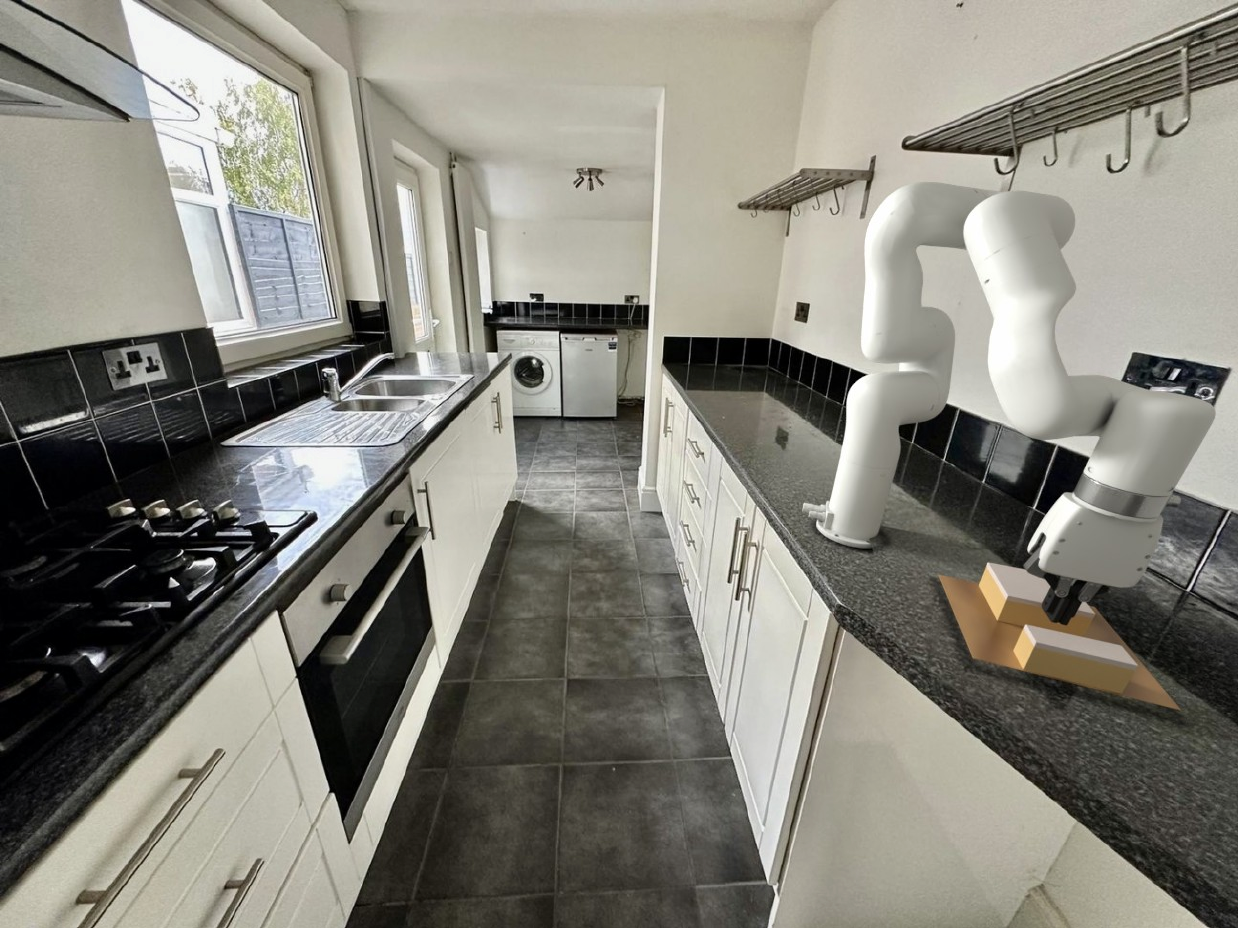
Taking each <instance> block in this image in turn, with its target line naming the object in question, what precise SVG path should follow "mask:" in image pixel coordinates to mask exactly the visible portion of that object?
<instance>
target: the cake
mask: <svg viewBox="0 0 1238 928" xmlns="http://www.w3.org/2000/svg"><path fill="white" fill-rule="evenodd" d="M979 583H980V584H979V587H980V589H981V591H982V593H983V595H984V597H985V598H986V600H987V602H988V604H989V606H990V608H991V610H992V612H993V614H994V615H995V617H996V619H997V621H1001V622H1005V623H1010V624H1014V625H1019V626H1023V627H1024V626H1025V624H1026V625H1031V626H1035V627H1040V628H1044V629H1049V630H1053V631H1058V632H1062V633H1067V634H1071V635H1076V636H1080V637H1084V635H1085V633H1086V631H1087V629H1088V627H1089V625H1090V624H1091V622H1092V620H1093V618H1094V616H1095V613H1094V612H1093V610H1092V609H1091V608H1090V607H1089V606H1090V605H1089V604H1088V602H1082V604H1081V605H1080V607H1079V609H1078V611H1077V613H1076V615H1075V616H1074V617H1073V618H1071V619H1070V621H1069V623H1068V625H1062V624H1060V623H1053V622H1051V621H1050V620H1049V618H1048V617H1047V615H1046V614H1045V612H1044V611H1043V609H1042V602H1043V600H1044V598H1045V596H1046V594H1047V592H1048V590H1049V588H1050V585H1049V584H1048V583H1047V581H1046V580H1045V579H1042V578H1039V577H1036V576H1034V575H1032V574H1029V573H1028V572H1027V571H1026V569H1025V568H1021V567H1013V566H1010V565H1004V564H1000V563H999V564H998V563H994V562H987V563H986V566H985V569H984V570H983V574H982V576H981V579H980V581H979Z"/></svg>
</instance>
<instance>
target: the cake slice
mask: <svg viewBox="0 0 1238 928" xmlns="http://www.w3.org/2000/svg"><path fill="white" fill-rule="evenodd" d="M1013 651H1014V653H1015V655H1016V657H1017V659H1018V661H1019V662H1020V664H1021V666H1022V668H1023V669H1024V670H1027V671H1031V672H1036V673H1040V674H1044V675H1048V676H1052V677H1056V678H1060V679H1064V680H1068V681H1072V682H1076V683H1080V684H1084V685H1088V686H1092V687H1096V688H1100V689H1104V690H1108V691H1112V692H1116V693H1120V694H1122V693H1123V691H1124V689H1125V688H1126V686H1127V684H1128V683H1129V681H1130V679H1131V677H1132V676H1133V674H1134V672H1135V670H1136V669H1137V667H1138V665H1137V664H1136V662H1135V661H1134V660H1133V659H1132V658H1131V656H1130V655H1129V654H1128V653H1127V652H1126V650H1125V649H1124V648H1123V647H1122V646H1120V645H1116V644H1112V643H1107V642H1103V641H1098V640H1094V639H1089V638H1085V637H1080V636H1076V635H1071V634H1067V633H1062V632H1058V631H1053V630H1049V629H1044V628H1040V627H1035V626H1031V625H1026V624H1025V626H1024V628H1023V630H1022V633H1021V635H1020V637H1019V639H1018V641H1017V644H1016V646H1015V648H1014V650H1013Z"/></svg>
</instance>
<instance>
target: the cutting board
mask: <svg viewBox="0 0 1238 928" xmlns="http://www.w3.org/2000/svg"><path fill="white" fill-rule="evenodd" d="M938 578H939V580H940V583H941V585H942V588H943V589H944V592H945V595H946V597H947V599H948V601H949V602H948V603H949V605H950V606H951V609H952V611H953V614H954V617H955V619H956V621H957V623H958V626H959V628H960V631H961V633H962V635H963V638H964V640H965V642H966V645H967V647H968V649H969V652H970V654H971V655H970V656H971V657H972V659H973V660H979V661H982V662H986V663H990V664H994V665H998V666H1002V667H1006V668H1009V669H1014V670H1019V671H1022V672H1025V673H1030V674H1034V675H1038V676H1043V677H1046V678H1051V679H1054V680H1058V681H1062V682H1065V683H1069V684H1074V685H1078V686H1082V687H1085V688H1090V689H1094V690H1097V691H1102V692H1106V693H1109V694H1114V695H1117V696H1122V697H1126V698H1130V699H1134V700H1138V701H1142V702H1145V703H1149V704H1153V705H1158V706H1162V707H1166V708H1168V709H1169V708H1170V709H1173V710H1177V711H1178V710H1179V711H1182V709H1181V708H1180V707H1179V706H1178V704H1177V703H1176V702H1175V700H1173V698H1172V697H1171V696H1170V695H1169V693H1168V692H1167V691H1166V690H1165V688H1163V686H1162V685H1161V683H1159V682H1158V680H1157V679H1156V678H1155V677H1154V676H1153V675H1152V674H1151V673H1152V672H1150V671H1149V670H1148V668H1147V667H1146V666H1145V665H1144V664H1143V662H1142V661H1141V660H1140V659H1139V658H1138V657H1137V655H1136V654H1135V653H1134V652H1133V651H1132V649H1131V648H1130V646H1128V645H1127V644H1126V642H1125V641H1124V640H1123V639H1122V638H1121V636H1120V635H1119V634H1118V633H1117V632H1116V631H1115V629H1114V628H1113V627H1112V626H1111V625H1110V624H1109V623H1108V621H1107V620H1106V619H1105V618H1104V617H1103V616H1102V614H1101V612H1099V610H1098V609H1097V608H1096V607H1095V606H1091V605H1088V606H1089V607H1090V608H1091V609H1092V610H1093V612H1094V613H1095V616H1094V618H1093V620H1092V622H1091V624H1090V625H1089V627H1088V629H1087V631H1086V633H1085V635H1084V637H1085V638H1089V639H1094V640H1098V641H1103V642H1107V643H1112V644H1116V645H1120V646H1122V647H1123V648H1124V649H1125V650H1126V652H1127V653H1128V654H1129V655H1130V656H1131V658H1132V659H1133V660H1134V661H1135V662H1136V664H1137V665H1138V667H1137V669H1136V670H1135V672H1134V674H1133V676H1132V677H1131V679H1130V681H1129V683H1128V684H1127V686H1126V688H1125V689H1124V691H1123V693H1122V694H1120V693H1116V692H1112V691H1108V690H1104V689H1100V688H1096V687H1092V686H1088V685H1084V684H1080V683H1076V682H1072V681H1068V680H1064V679H1060V678H1056V677H1052V676H1048V675H1044V674H1040V673H1036V672H1031V671H1027V670H1024V669H1023V668H1022V666H1021V664H1020V662H1019V661H1018V659H1017V657H1016V655H1015V653H1014V651H1013V650H1014V648H1015V646H1016V644H1017V641H1018V639H1019V637H1020V635H1021V633H1022V630H1023V628H1024V627H1023V626H1019V625H1014V624H1010V623H1005V622H1001V621H997V619H996V617H995V615H994V614H993V612H992V610H991V608H990V606H989V604H988V602H987V600H986V598H985V597H984V595H983V593H982V591H981V589H980V587H979V584H980V582H976V581H973V580H972V581H971V580H967V579H962V578H958V577H952V576H947V575H943V574H938Z"/></svg>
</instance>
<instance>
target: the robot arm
mask: <svg viewBox="0 0 1238 928" xmlns="http://www.w3.org/2000/svg"><path fill="white" fill-rule="evenodd" d="M877 207H878V208H877V209H876V210H875V212H874V214H873V215H872V217H871V219H870V221H869V224H868V226H867V229H866V233H865V238H864V270H865V271H864V272H865V276H864V277H865V283H864V294H863V304H862V305H863V306H862V320H861V330H860V331H861V333H860V346H861V347H860V348H861V353H862V355H863V356H864V357H865V359H866V360H868V361H870V362H872V363H875V364H882V365H883V364H885V365H887V364H890V365H891V364H899V367H898V370H890V371H878V372H874V373H869V374H867V375H865V376H862V377H861V378H859V379H858V380H856V381H855V383H853V384H852V386H851V387H850V388H849V391H848V393H847V398H846V410H845V411H846V417H845V419H846V420H845V430H844V436H843V441H842V446H841V449H840V456H839V460H838V465H837V468H836V474H835V477H834V482H833V486H832V491H831V495H830V500H826V501H825V504H820V505H817V504H816V505H815V504H813V503H807V502H803V505H802V509H801V511H802V513H806V514H808V518H810V519H816V522H815V526H816V529H817V530H818V531H819V532H820V533H821V535H823V536H824V537H825V538H827V539H829V540H831V541H832V542H835V543H837V544H840V545H842V546H847V547H851V548H857V549H873V545H872V541H871V539H872V538H875V537H876V536H878V535H879V532H880V529H881V524H882V521H883V517H884V513H885V510H886V507H887V503H888V499H889V496H890V492H891V488H892V485H893V482H894V477H895V474H896V470H897V469H898V468H897V467H898V463H899V459H900V455H901V448H902V446H901V439H900V433H899V429H900V428H899V427H900V426H902V425H903V426H904V425H908V424H918V423H922V422H923V423H924V422H927V421H930V420H932V419H935V418H937V416H938V415H940V414H941V413H942V411H943V410H944V408H945V407H946V405H947V402H948V399H949V394H950V389H951V382H952V372H953V364H954V357H955V347H956V346H955V344H956V330H955V326H954V324H953V321H952V319H951V317H950V316H949V315H948V314H947V313H946V312H945V311H943V310H942V309H940V308H937V307H934V306H922V297H923V296H922V294H923V287H924V273H923V267H922V264H921V261H920V258H919V255H918V254H917V249H918V247H920V246H926V247H938V248H948V249H949V248H951V249H958V250H959V249H960V250H964V251H967V253H968V256H969V258H970V260H971V263H972V265H973V268H974V271H975V274H976V276H977V279H978V281H979V284H980V286H981V289H982V292H983V294H984V297H985V298H986V302H987V304H988V307H989V309H990V313H991V316H992V318H993V323H992V327H991V330H990V334H989V341H988V348H987V349H988V350H987V368H988V374H989V378H990V381H991V384H992V387H993V390H994V392H995V394H996V398H997V400H998V402H999V405H1000V408H1001V409H1002V412H1003V414H1004V416H1005V417H1006V419H1007V420H1008V422H1009V423H1010V425H1011V427H1013V428H1014V429H1015V430H1016V431H1017V432H1019V433H1020V434H1022V435H1023V436H1025V437H1027V438H1031V439H1034V440H1038V441H1039V440H1040V441H1051V440H1052V441H1054V440H1060V439H1061V440H1062V439H1066V438H1074V437H1099V438H1098V440H1097V442H1096V445H1095V447H1094V448H1093V450H1092V452H1091V454H1090V457H1089V458H1088V461H1087V463H1086V466H1085V467H1084V469H1083V471H1082V473H1081V475H1080V477H1079V479H1078V482H1077V484H1076V485H1075V487H1074V489H1073V491H1072V492H1068V491H1067V492H1063V493H1062V494H1061V495H1060V497H1059V498H1058V499H1057V500H1056V501H1055V502H1054V504H1053V505H1051V507H1050V509H1049V510H1048V512H1047V513H1046V514H1045V515H1044V517H1043V519H1042V520H1041V521H1040V523H1039V525H1038V527H1037V528H1036V529H1035V531H1034V533H1033V535H1032V537H1031V539H1030V541H1029V543H1028V546H1027V550H1026V551H1027V553H1028V554H1029V555H1030V557H1029V558H1028V559H1027V560H1026V561H1025V562H1024V563H1023V569H1025V570H1026V571H1027V572H1028V573H1029V574H1032V575H1034V576H1036V577H1039V578H1042V579H1045V580H1046V581H1047V583H1048V584H1049V585H1050V588H1049V590H1048V592H1047V594H1046V596H1045V598H1044V600H1043V602H1042V609H1043V611H1044V612H1045V614H1046V615H1047V617H1048V618H1049V620H1050V621H1051V622H1053V623H1060V624H1062V625H1068V623H1069V621H1070V619H1071V618H1073V617H1074V616H1075V615H1076V613H1077V611H1078V609H1079V607H1080V605H1081V604H1082V602H1086V603H1088V602H1090V601H1091V600H1092V599H1093V597H1098V596H1100V595H1104V594H1106V593H1108V594H1129V593H1130V592H1131V588H1132V587H1135V586H1136V585H1137V584H1138V583H1139V582H1140V581H1141V579H1142V577H1143V576H1144V574H1145V573H1146V570H1147V569H1148V567H1149V565H1150V563H1151V561H1152V559H1153V556H1154V555H1155V552H1156V550H1157V546H1158V545H1159V540H1160V537H1161V534H1162V530H1163V524H1164V518H1163V517H1162V516H1161V514H1163V512H1164V511H1165V508H1168V507H1173V508H1177V507H1179V506H1180V504H1181V503H1182V499H1181V496H1179V495H1175V494H1173V492H1174V490H1175V489H1176V487H1177V485H1178V483H1179V482H1180V480H1181V478H1182V477H1183V475H1184V474H1185V472H1186V470H1187V468H1188V466H1189V465H1190V463H1191V462H1192V460H1193V458H1194V457H1195V454H1196V453H1197V451H1198V449H1199V448H1200V446H1201V444H1202V442H1203V441H1204V439H1205V437H1206V435H1207V434H1208V432H1209V431H1210V429H1211V427H1212V425H1213V424H1214V421H1215V419H1216V415H1217V413H1216V408H1215V407H1214V406H1213V405H1212V404H1211V403H1210V402H1208V401H1206V400H1203V399H1201V398H1197V397H1194V396H1190V395H1185V394H1181V393H1175V392H1169V391H1161V390H1152V389H1147V388H1144V387H1140V386H1137V385H1135V384H1131V383H1128V382H1125V381H1123V380H1119V379H1116V378H1115V377H1114V378H1113V377H1110V376H1106V375H1101V374H1079V375H1068V372H1067V369H1066V367H1065V365H1064V362H1063V360H1062V358H1061V355H1060V351H1059V349H1058V345H1057V341H1056V323H1057V320H1058V318H1059V315H1060V313H1061V311H1062V310H1063V309H1064V308H1065V306H1066V305H1067V304H1068V302H1070V301H1071V299H1072V298H1073V297H1074V296H1075V294H1076V291H1077V284H1076V281H1075V279H1074V276H1073V275H1072V272H1071V270H1070V268H1069V266H1068V263H1067V262H1066V259H1065V257H1064V255H1063V253H1062V249H1063V248H1065V246H1066V245H1067V243H1068V242H1070V239H1071V237H1072V236H1073V234H1074V231H1075V227H1076V214H1075V211H1074V209H1073V207H1072V206H1071V205H1070V203H1069V202H1067V200H1065V199H1064V198H1062V197H1060V196H1057V195H1052V194H1047V193H1040V192H1035V191H1027V190H1007V191H1000V190H999V191H998V190H991V189H983V188H976V187H970V186H963V185H956V184H950V183H944V182H935V181H921V182H914V183H913V182H912V183H909V184H907V185H903V186H901V187H899V188H898V189H896V190H895V191H893V192H891V193H890V194H889V195H888V196H886V198H885V199H884V200H883V201H882V202H881V203H880V204H879V206H877Z"/></svg>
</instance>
